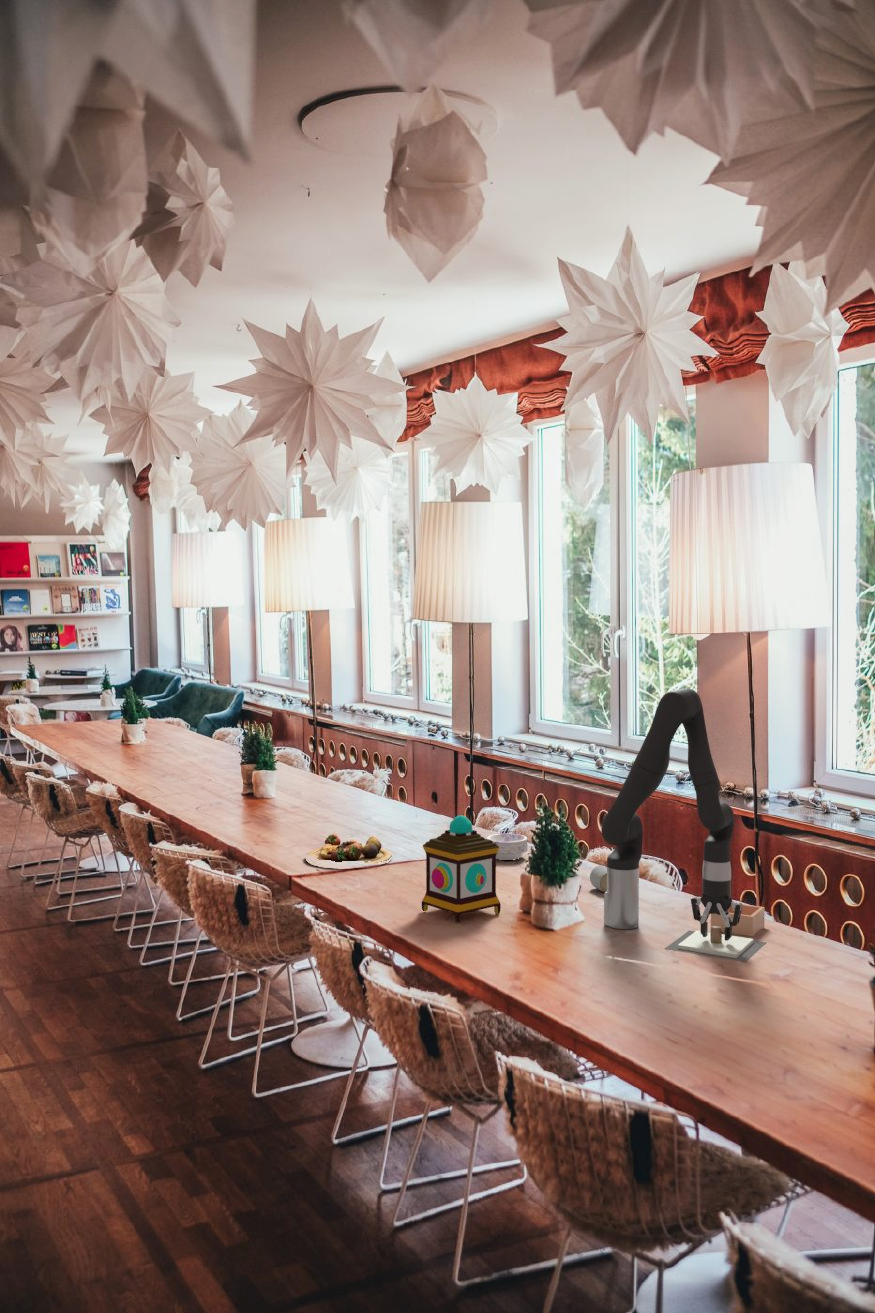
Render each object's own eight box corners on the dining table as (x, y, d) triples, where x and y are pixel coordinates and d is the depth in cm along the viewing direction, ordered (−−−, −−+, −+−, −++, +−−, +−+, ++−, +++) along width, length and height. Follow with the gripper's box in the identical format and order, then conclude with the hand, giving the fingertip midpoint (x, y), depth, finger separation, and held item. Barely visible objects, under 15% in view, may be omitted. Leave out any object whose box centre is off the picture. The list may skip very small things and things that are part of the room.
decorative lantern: (457, 926, 327) (457, 824, 326) (414, 912, 342) (414, 814, 341) (507, 914, 340) (507, 815, 339) (464, 901, 355) (464, 806, 354)
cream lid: (677, 948, 303) (677, 930, 303) (697, 933, 317) (697, 916, 317) (736, 958, 295) (736, 939, 295) (753, 942, 309) (753, 924, 308)
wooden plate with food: (297, 854, 424) (297, 832, 424) (379, 847, 434) (379, 826, 433) (314, 875, 394) (313, 852, 393) (401, 867, 403) (401, 845, 403)
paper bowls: (481, 861, 410) (481, 840, 410) (492, 852, 425) (492, 832, 424) (522, 864, 406) (522, 842, 405) (531, 855, 420) (531, 834, 420)
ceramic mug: (600, 894, 362) (600, 871, 362) (589, 888, 370) (589, 865, 370) (629, 893, 366) (630, 869, 365) (618, 887, 373) (618, 864, 373)
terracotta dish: (710, 931, 321) (710, 910, 321) (723, 921, 331) (723, 901, 331) (752, 938, 315) (752, 916, 315) (764, 927, 325) (764, 907, 325)
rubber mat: (664, 950, 303) (664, 948, 303) (689, 932, 320) (689, 930, 320) (745, 964, 292) (745, 962, 292) (766, 944, 309) (766, 942, 309)
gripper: (686, 876, 306) (686, 937, 306) (738, 882, 298) (738, 945, 299) (695, 870, 312) (695, 930, 313) (747, 877, 305) (746, 938, 305)
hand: (716, 937), depth 306 cm, fingers open, 5 cm apart
